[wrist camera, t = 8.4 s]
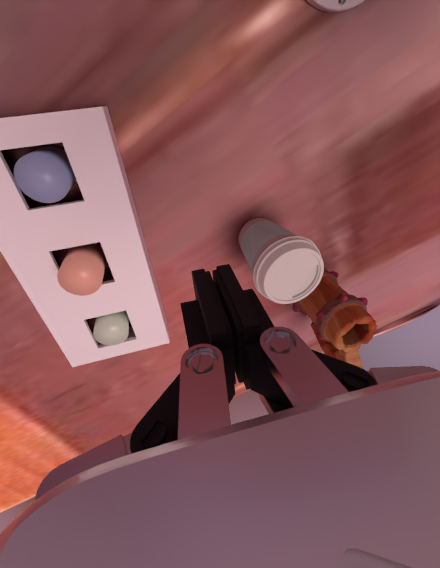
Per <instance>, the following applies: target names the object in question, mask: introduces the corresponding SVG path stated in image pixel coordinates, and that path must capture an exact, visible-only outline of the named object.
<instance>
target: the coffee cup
mask: <svg viewBox="0 0 440 568" xmlns="http://www.w3.org/2000/svg"><path fill="white" fill-rule="evenodd" d="M238 241H239V245H240V248H241V250H242V252H243V254H244V257H245V259H246V261H247V264H248V266H249V268H250V270H251V273H252V275H253V281H254V285H255V287H256V289H257V290H258V291H259V292H260V293H261V294H262V295H263V296H264V297H266V298H267V299H270V300H272V301H274V302H276V303H280V304H290V303H294V302H297V301H299V300H301V299H303V298H305V297H306V296H308V295H309V294H310V293H311V292H312V291H313V290H314V289H315V288H316V287H317V286H318V284H319V282H320V281H321V278H322V276H323V272H324V263H323V260H322V257H321V254H320V251H319V249H318V248H317V247H316V245H315V244H314V243H313V242H312V241H311V240H309V239H307V238H304V237H300V236H297V235H295V234H293V233H291V232H289V231H288V230H286V229H284V228H282V227H280V226H278V225H277V224H275V223H273V222H271V221H269V220H267V219H265V218H255V219H252V220H250V221H249V222H247V223H246V224H245V225H244V226H243V227H242V229H241V231H240V233H239V238H238Z"/></svg>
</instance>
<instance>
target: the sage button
mask: <svg viewBox="0 0 440 568" xmlns="http://www.w3.org/2000/svg"><path fill="white" fill-rule="evenodd" d="M128 333H129V317H128V314H127V312H126V311H121V312H117V313H112V314H108V315H104V316H99V317H96V321H95V326H94V332H93V335H94V338H95V339H96V341H98V342H99V343H101V344H103V345H109V346H111V345H117V344H120V343H122V342H124V341H125V340H126V339H127V337H128Z"/></svg>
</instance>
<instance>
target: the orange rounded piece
mask: <svg viewBox="0 0 440 568" xmlns="http://www.w3.org/2000/svg"><path fill="white" fill-rule="evenodd" d="M105 265H106V256H105V254H104V251H103V249H102V248H101V247H100V246H98V245H97V244H95V243H92V244H87V245H81V246H76V247H71V248H69V249H68V251H67V254H66V256H65V258H64V260H63V262H62V264H61V267H60V269H59V271H58V274H57V279H58V282H59V284H60V286H61V287H62V288H63V289H64V290H66V291H67V292H69V293H71V294H74V295H79V296H85V295H90V294H93V293H95V292H96V291H97V290H99V288H100V287H101V285H102V281H103V276H104V270H105Z"/></svg>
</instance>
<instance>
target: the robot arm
mask: <svg viewBox="0 0 440 568" xmlns="http://www.w3.org/2000/svg"><path fill="white" fill-rule="evenodd" d="M306 1H307V2H308V3H309V4H311V5H312V6H314V7H315V8H317V9H319V10H322V11H325V12H342V11H345V10H348V9H351V8H353V7H355V6H357V5H359V4H361V3H362V2H363V1H365V0H339V3H338V0H306ZM192 278H193V284H194V290H195V297H196V300H194V301H189V302H184V303H181V309H182V314H183V319H184V325H185V330H186V335H187V340H188V346H189V349H188V350H187V351H186V352H185V353H184V354H183V356H182V359H181V368H180V374H179V375H178V376H177V377H176V379H175V380H174V381H173V382H172V383H171V385H170V386H169V387H168V388H167V389H166V391H165V392H164V393H163V394H162V395H161V397H160V398H159V399H158V400H157V401H156V403H155V404H154V405H153V406H152V407H151V409H150V410H149V411H148V412H147V413H146V415H145V416H144V417H143V418H142V419H141V421H140V422H139V423H138V424H137V426H136V427H135V429H134V430H133V432H132V433H130V434H128V435H126V436H124V437H123V436H122V435H119V436H117V437H115V438H113V439H111V440H109V441H107V442H105V443H103V444H101V445H99V446H97V447H95V448H93V449H91V450H89V451H87V452H85V453H83V454H81V455H79V456H77V457H75V458H73V459H71V460H69V461H67V462H65V463H63V464H61V465H59V466H58V467H56V468H55V469H53V470H52V471H50V473H49V474H48V475H47V476H46V477H45V478H44V479H43V481H42V482H41V484H40V486H39V488H38V490H37V493H36V498H35V501H34V502H33V503H32V504H30V505H29V506H28V507H27V508H26V509H25V510H23V511H22V512H21V513H20V514H19V515H18V516H16V517H15V518H14V519H13V520H12V522H10V524H9V525H7V527H6V528H5V529H4V530H3V531H2V533H1V534H0V568H440V371H438V370H436V369H433V368H431V367H425V366H412V367H384V368H370V370H369V371H365V370H364V369H362V368H360V367H358V366H355V365H352V364H350V363H347V362H344V361H341V360H339V359H336V358H333V357H330V356H328V355H325V354H322V353H319V352H317V351H314V350H311V349H310V348H309V347H308V346H307V345H306V343H305V342H304V341H303V340H302V339H301V338H300V337H299V336H298V335H297V334H296V333H295V332H294V331H292V330H290V329H288V328H285V327H274V325H273V324H272V322H271V320H270V318H269V317H268V315H267V313H266V311H265V310H264V308H263V306H262V304H261V303H260V301H259V299H258V297H257V296H256V294H255V292H254V291H253V289H248V290H242V288H241V286H240V284H239V282H238V280H237V278H236V276H235V274H234V272H233V271H232V269H231V267H230V265H229V264H227V265H221V266H217V270H213V279H212V277H211V274H210V272H209V271H207V272H205V270H204V269H200V270H195V271H192ZM213 281H214V282H213ZM235 372H236V375H237V378H238V381H239V383H241V382H244V384H245V387H246V390H247V389H251V390H253V391H255V392H257V393H259V397H260V399H261V401H262V403H263V405H264V406H265V408H266V410H267V412H268V413H269V414H268V415H265V416H261V417H258V418H254V419H251V420H247V421H243V422H240V423H236V424H233V425H231V422H230V413H229V403H230V401H231V400H232V398H233V396H234V395H235V386H234V384H236V380H235Z"/></svg>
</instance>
